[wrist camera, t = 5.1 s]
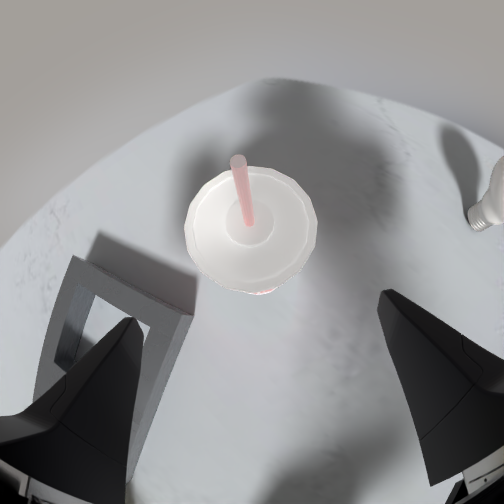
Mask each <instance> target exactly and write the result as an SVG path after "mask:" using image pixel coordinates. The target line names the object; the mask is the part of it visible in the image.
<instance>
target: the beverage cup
mask: <svg viewBox="0 0 504 504" xmlns="http://www.w3.org/2000/svg"><path fill="white" fill-rule="evenodd" d="M230 166H231V170H228V171H224V172H223V173H221V174H220V175H218V176H217V177H215V178H213V179H212V180H210V181H209V182H207V183H206V184H204V186H203V187H202V188H201V190H200V191H199V192H198V194H197V195H196V196H195V198H194V199H193V200H192V202H191V203H190V206H189V209H188V213H187V217H186V221H185V225H184V231H185V238H186V244H187V251H188V253H189V254H190V256H191V258H192V259H193V261H194V262H195V264H196V265H197V267H198V268H199V270H200V271H201V273H202V274H204V275H205V276H207V277H208V278H210V279H211V280H213V281H214V282H216V283H218V284H219V285H221V286H222V287H224V288H226V289H229V290H235V291H241V292H246V293H249V294H255V295H261V294H265V293H270V292H272V291H273V290H274V289H276V288H278V287H280V286H281V285H282V284H284V283H285V282H287V281H288V280H289V279H291V278H292V277H293V276H295V275H296V274H297V273H299V272H300V271H301V270H302V268H303V266H304V265H305V263H306V261H307V259H308V258H309V256H310V254H311V253H312V251H313V249H314V247H315V243H316V233H317V223H318V220H317V217H316V214H315V211H314V208H313V205H312V202H311V199H310V197H309V196H308V195H307V194H306V193H305V191H304V190H303V189H302V188H301V187H300V186H299V185H298V183H297V182H296V181H295V180H294V179H292V178H290V177H288V176H286V175H284V174H282V173H280V172H278V171H276V170H274V169H272V168H263V167H255V166H247V162H246V158H245V157H244V156H243V155H239V154H237V155H234V156H232V157H231V159H230Z"/></svg>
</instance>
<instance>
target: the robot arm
mask: <svg viewBox="0 0 504 504" xmlns="http://www.w3.org/2000/svg"><path fill="white" fill-rule="evenodd" d="M377 311H378V316H379V319H380V322H381V326H382V329H383V333H384V336H385V340H386V344H387V347H388V350H389V353H390V355H391V358H392V360H393V363H394V366H395V368H396V371H397V374H398V376H399V379H400V382H401V385H402V388H403V391H404V393H405V396H406V399H407V402H408V405H409V408H410V412H411V415H412V418H413V421H414V425H415V428H416V431H417V435H418V438H419V442H420V446H421V450H422V454H423V458H424V462H425V466H426V470H427V474H428V479H429V483H430V486H433V485H436V484H438V483H440V482H442V481H444V480H446V479H449V478H451V477H453V476H454V475H456V474H458V473H460V472H462V474H463V477H464V478H463V479H462V480H460V481H458V482H457V483H455V485H454V487H453V489H452V491H451V493H450V495H449V497H448V499H447V501H446V503H445V504H504V360H503V359H501V358H499V357H498V356H496V355H494V354H492V353H491V352H489V351H487V350H486V349H484V348H482V347H481V346H479V345H477V344H476V343H474V342H473V341H471V340H470V339H468V338H467V337H465V336H464V335H461V333H459V332H458V331H457V330H455V329H454V328H452V327H451V326H449V325H448V324H446V323H445V322H443V321H442V320H440V319H439V318H437V317H435V316H434V315H432V314H431V313H429V312H428V311H426V310H425V309H423V308H422V307H420V306H419V305H417V304H415V303H414V302H412V301H411V300H409V299H408V298H406V297H404V296H403V295H401V294H400V293H398V292H396V291H395V290H393V289H387V290H383V291H382V292H381V294H380V298H379V303H378V307H377ZM143 341H144V335H143V331H142V329H141V328H140V326H139V324H138V322H137V320H136V319H135V318H134V317H126V318H124V319H122V320H121V321H120V322H119V323H118V324H117V325H116V326H115V327H114V328H113V329H112V330H110V331H109V332H108V333H107V334H106V335H105V336H104V337H103V338H102V339H101V340H100V341H99V342H98V343H97V344H96V345H94V346H93V347H92V348H91V349H90V350H89V351H88V352H87V353H86V354H85V355H84V356H83V357H82V358H81V359H80V360H79V361H78V362H77V363H76V364H75V365H74V366H73V367H72V368H70V369H69V370H68V371H67V372H66V374H64V375H63V376H62V377H61V378H60V379H59V380H58V381H57V382H56V383H55V384H54V385H53V386H52V387H51V388H50V389H49V390H47V391H46V392H45V393H44V394H43V395H42V396H40V397H39V398H38V399H37V400H36V401H35V402H33V403H32V404H31V405H30V406H29V407H28V408H26V409H25V410H24V411H23V412H21V413H19V414H16V415H11V416H0V504H125V487H126V474H127V461H128V452H129V443H130V435H131V427H132V420H133V414H134V407H135V401H136V395H137V389H138V384H139V378H140V372H141V362H142V351H143Z"/></svg>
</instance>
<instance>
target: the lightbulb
mask: <svg viewBox="0 0 504 504" xmlns="http://www.w3.org/2000/svg"><path fill="white" fill-rule="evenodd" d="M468 220H469V223H470V225H471V226H472V228H473V229H474V230H476V231H478V232H481V231H483V230H484V229H486V228H488V227H490V226H492V225H500V224H504V156H503V157H501V158H500V159H499V160H498V161H497V163H496V164H495V166H494V168H493V171H492V174H491V178H490V183H489V188H488V190H487V191H486V192H485V194H484V195H483V198H482V200H480V201H479V202H478V203H476V204H475V205H473V206H472V207H470V208H469V210H468Z"/></svg>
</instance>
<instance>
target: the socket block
mask: <svg viewBox="0 0 504 504" xmlns="http://www.w3.org/2000/svg"><path fill="white" fill-rule="evenodd" d="M95 294H96V295H97V296H99V297H100V298H102V299H104V300H105V301H107V302H108V303H110V304H112V305H113V306H115V307H117V308H118V309H120V310H122V311H123V312H125V313H127V314H128V315H130V316H132V317H134V318H135V319H137V320H139V321H141V322H143V323H144V324H146V325H148V326H150V327H151V328H150V330H149V333H148V335H147V338H146V340H145V343H144V346H143V351H142V362H141V372H140V378H139V384H138V389H137V395H136V401H135V407H134V414H133V420H132V427H131V435H130V443H129V452H128V461H127V474H126V483H127V482H129V481H130V480H131V479H132V476H133V473H134V470H135V467H136V464H137V462H138V459H139V456H140V453H141V450H142V448H143V445H144V442H145V439H146V437H147V434H148V431H149V429H150V426H151V423H152V421H153V418H154V415H155V413H156V410H157V407H158V405H159V402H160V400H161V397H162V394H163V392H164V389H165V387H166V384H167V382H168V379H169V376H170V374H171V371H172V369H173V366H174V364H175V361H176V359H177V356H178V354H179V351H180V349H181V347H182V344H183V342H184V339H185V337H186V334H187V332H188V329H189V327H190V325H191V322H192V320H193V317H194V316H193V315H191V314H189V313H186V312H184V311H182V310H180V309H178V308H176V307H174V306H172V305H170V304H168V303H166V302H164V301H162V300H160V299H158V298H156V297H154V296H152V295H150V294H148V293H146V292H144V291H142V290H140V289H138V288H136V287H134V286H133V285H131V284H129V283H127V282H125V281H123V280H122V279H120V278H118V277H116V276H114V275H112V274H111V273H109V272H107V271H105V270H104V269H102V268H100V267H98V266H97V265H95V264H93V263H91V262H89V261H86V260H84V259H81V258H79V257H77V256H74V255H73V256H72V259H71V261H70V264H69V266H68V269H67V271H66V274H65V276H64V279H63V282H62V285H61V287H60V290H59V293H58V296H57V299H56V302H55V305H54V308H53V311H52V315H51V318H50V322H49V325H48V329H47V332H46V336H45V340H44V344H43V348H42V352H41V357H40V361H39V366H38V371H37V377H36V383H35V389H34V395H33V402H35V401H36V400H37V399H38V398H39V397H40V396H42V395H43V394H44V393H45V392H46V391H47V390H49V389H50V388H51V387H52V386H53V385H54V384H55V383H56V382H57V381H58V380H59V379H60V378H61V377H62V376H63V375H64V374H66V372H67V371H68V370H69V369H70V368H72V367H73V366H74V365H75V364H76V363H77V362H76V361H75V360H74V358H75V354H76V351H77V347H78V344H79V341H80V337H81V334H82V331H83V328H84V325H85V322H86V319H87V316H88V313H89V311H90V308H91V305H92V302H93V300H94V297H95Z"/></svg>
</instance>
